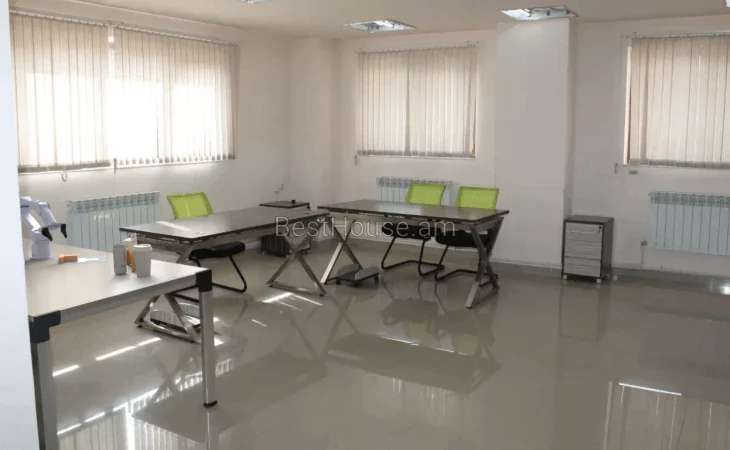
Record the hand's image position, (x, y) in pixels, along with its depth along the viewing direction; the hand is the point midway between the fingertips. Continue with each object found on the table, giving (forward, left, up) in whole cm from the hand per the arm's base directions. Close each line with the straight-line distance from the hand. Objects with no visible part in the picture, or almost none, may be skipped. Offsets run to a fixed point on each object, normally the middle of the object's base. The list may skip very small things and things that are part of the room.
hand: (59, 238), depth 352 cm
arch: (+44, +8, -14) cm, 47 cm away
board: (+5, +9, -13) cm, 17 cm away
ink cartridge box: (+27, +23, -14) cm, 38 cm away
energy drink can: (+47, -5, -14) cm, 49 cm away
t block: (+1, +4, -13) cm, 14 cm away
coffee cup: (+60, -3, -14) cm, 62 cm away
